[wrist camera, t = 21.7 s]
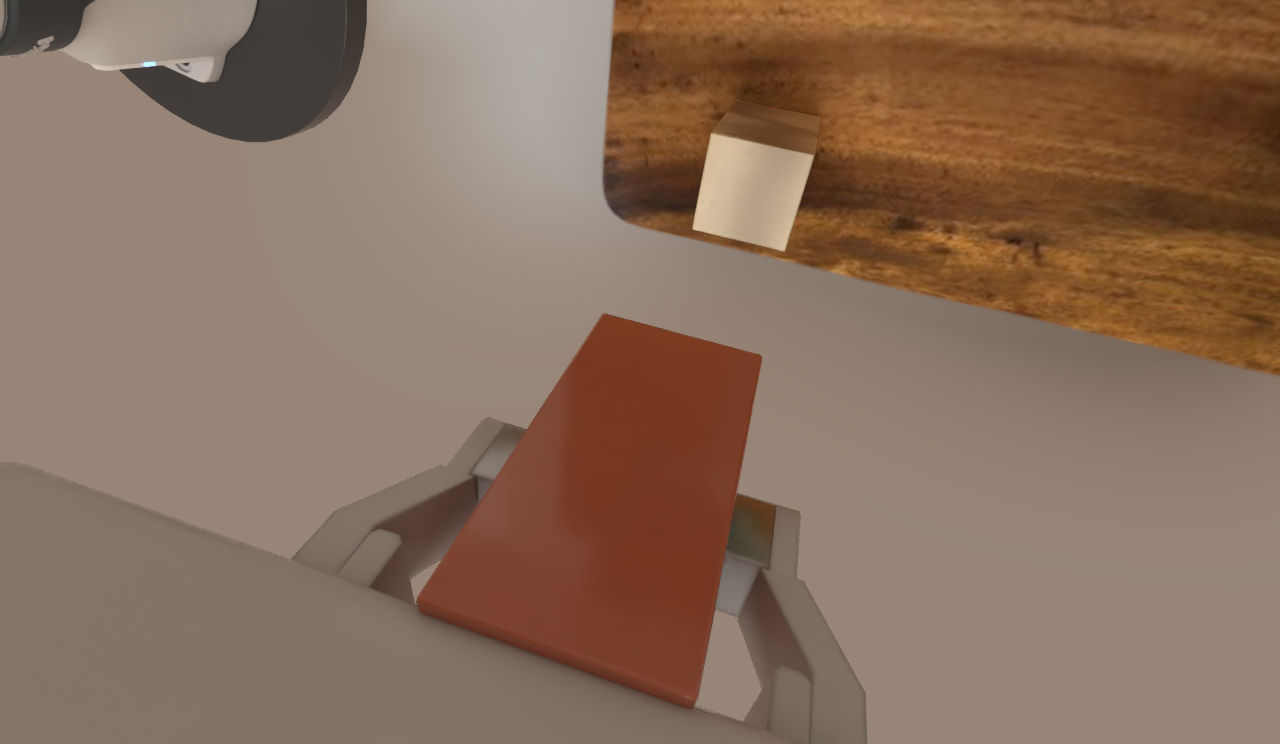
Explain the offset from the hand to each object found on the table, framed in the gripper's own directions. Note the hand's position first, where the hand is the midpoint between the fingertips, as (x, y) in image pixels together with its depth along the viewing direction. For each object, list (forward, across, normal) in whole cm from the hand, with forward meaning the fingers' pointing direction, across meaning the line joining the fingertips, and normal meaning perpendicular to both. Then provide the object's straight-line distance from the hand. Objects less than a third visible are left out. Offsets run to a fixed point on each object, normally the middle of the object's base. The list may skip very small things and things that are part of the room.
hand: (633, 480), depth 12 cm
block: (+3, 0, 0) cm, 3 cm away
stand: (+28, 0, 0) cm, 28 cm away
